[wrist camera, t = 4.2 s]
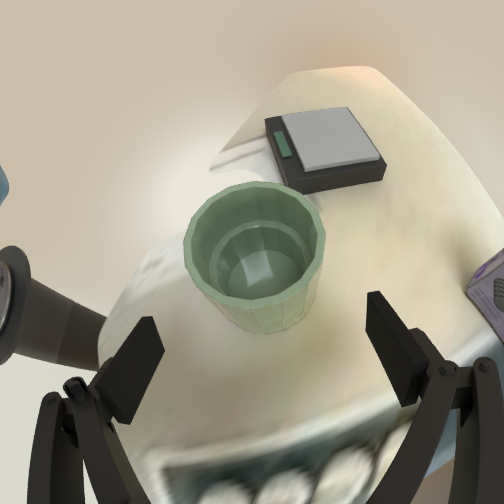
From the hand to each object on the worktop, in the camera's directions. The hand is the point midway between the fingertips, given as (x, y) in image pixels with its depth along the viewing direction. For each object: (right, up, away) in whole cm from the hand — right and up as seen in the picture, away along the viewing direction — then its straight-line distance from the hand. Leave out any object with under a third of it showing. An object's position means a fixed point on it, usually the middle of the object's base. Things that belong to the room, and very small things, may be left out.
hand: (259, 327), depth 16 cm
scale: (+9, +18, +20) cm, 29 cm away
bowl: (+1, +1, +13) cm, 13 cm away
